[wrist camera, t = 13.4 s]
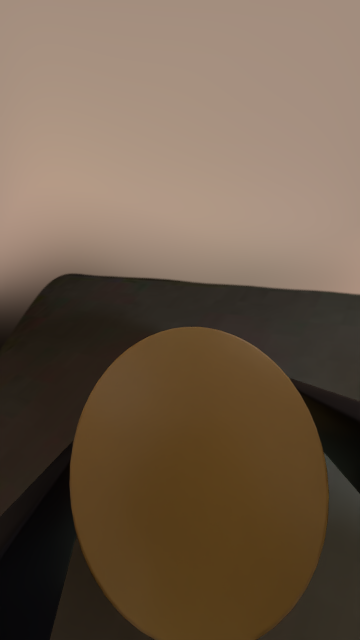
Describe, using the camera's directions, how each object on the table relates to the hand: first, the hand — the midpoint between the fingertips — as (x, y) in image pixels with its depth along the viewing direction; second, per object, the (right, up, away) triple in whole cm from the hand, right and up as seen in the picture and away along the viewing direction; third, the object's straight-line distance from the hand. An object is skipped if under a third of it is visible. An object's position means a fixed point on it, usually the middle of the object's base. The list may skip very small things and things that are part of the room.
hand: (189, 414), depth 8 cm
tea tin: (+1, -5, +7) cm, 9 cm away
